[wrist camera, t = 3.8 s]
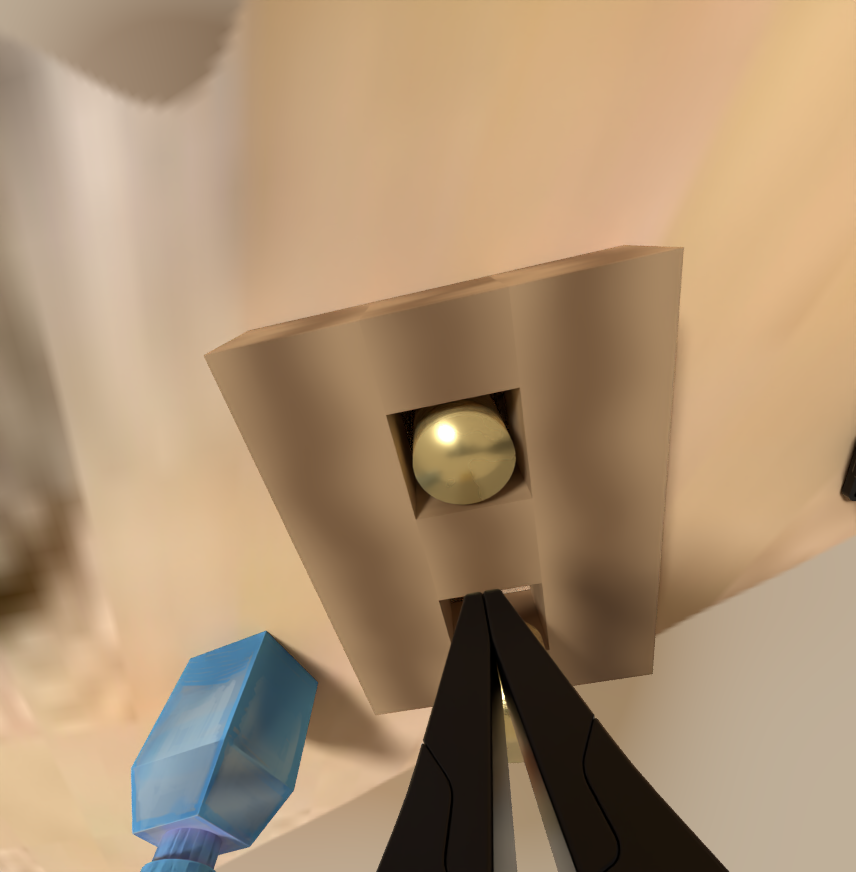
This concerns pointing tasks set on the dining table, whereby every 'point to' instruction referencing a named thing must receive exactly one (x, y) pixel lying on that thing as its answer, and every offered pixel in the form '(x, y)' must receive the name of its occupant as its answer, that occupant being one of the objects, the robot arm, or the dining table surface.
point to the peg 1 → (462, 450)
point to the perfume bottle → (221, 754)
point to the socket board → (520, 497)
